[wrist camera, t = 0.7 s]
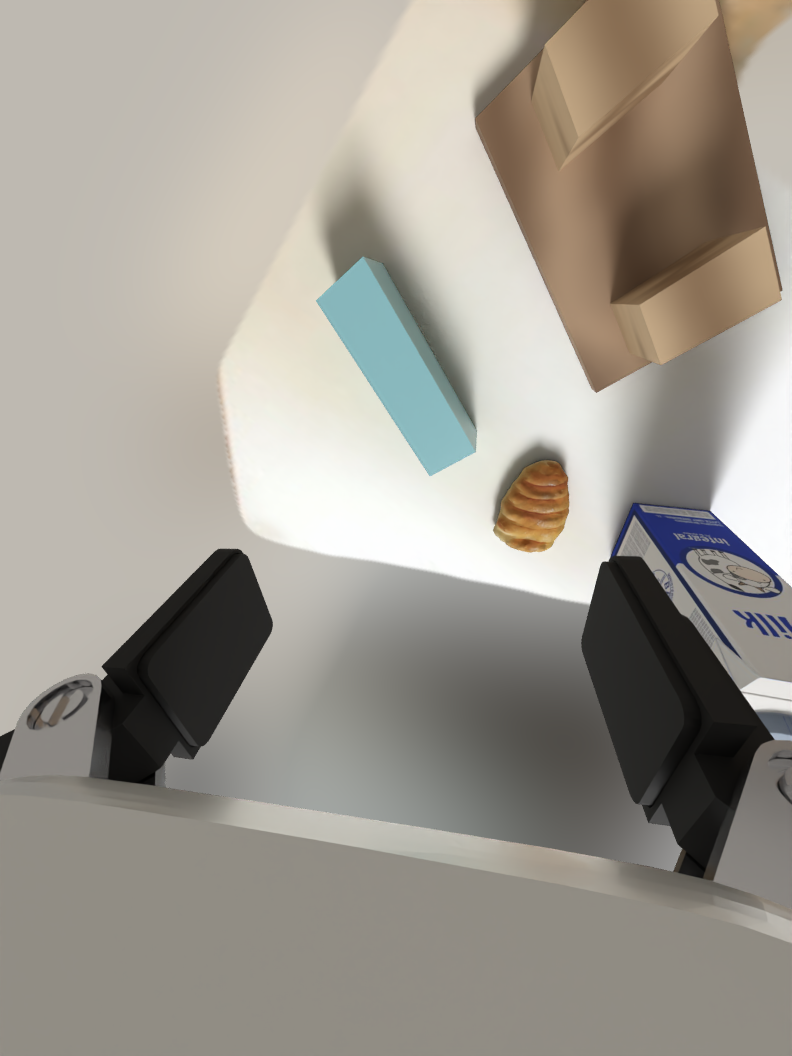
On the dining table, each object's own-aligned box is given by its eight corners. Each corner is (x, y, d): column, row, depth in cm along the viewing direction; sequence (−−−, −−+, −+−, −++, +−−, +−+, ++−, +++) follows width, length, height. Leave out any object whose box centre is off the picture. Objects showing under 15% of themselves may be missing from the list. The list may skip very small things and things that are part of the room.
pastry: (511, 451, 35) (514, 466, 32) (583, 461, 35) (593, 477, 31) (491, 531, 41) (492, 551, 37) (553, 541, 40) (559, 562, 37)
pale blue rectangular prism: (383, 263, 29) (362, 256, 24) (476, 430, 35) (475, 451, 30) (342, 300, 31) (315, 300, 26) (436, 452, 37) (429, 476, 32)
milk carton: (712, 510, 34) (925, 708, 18) (681, 566, 38) (833, 773, 21) (631, 502, 35) (760, 680, 19) (608, 557, 39) (700, 747, 23)
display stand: (681, -81, 19) (778, -267, 13) (767, 290, 26) (859, 288, 19) (475, 127, 24) (473, 69, 18) (591, 388, 31) (619, 411, 25)
